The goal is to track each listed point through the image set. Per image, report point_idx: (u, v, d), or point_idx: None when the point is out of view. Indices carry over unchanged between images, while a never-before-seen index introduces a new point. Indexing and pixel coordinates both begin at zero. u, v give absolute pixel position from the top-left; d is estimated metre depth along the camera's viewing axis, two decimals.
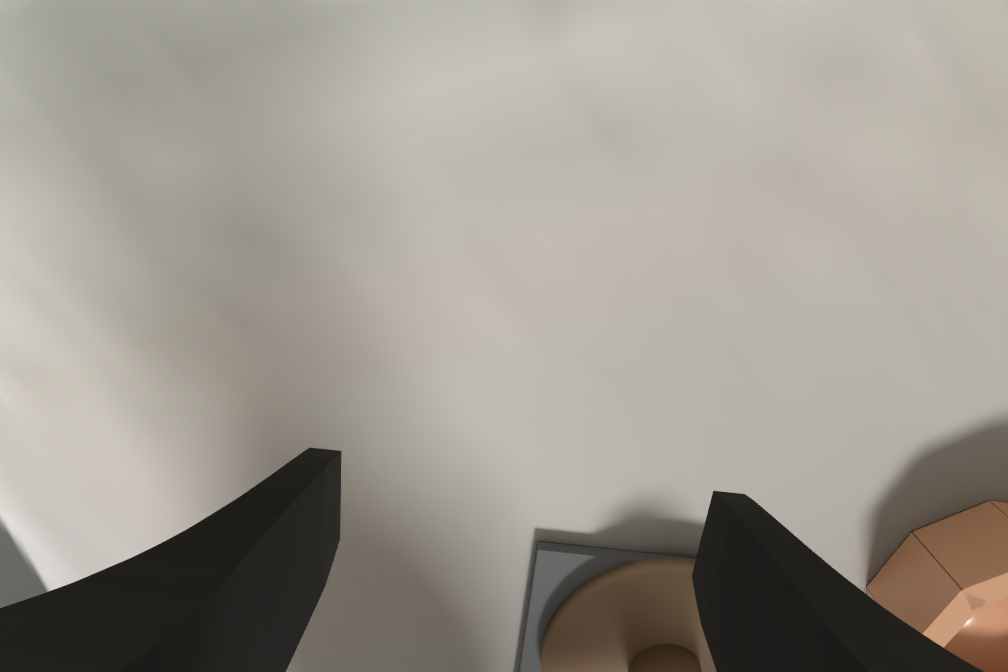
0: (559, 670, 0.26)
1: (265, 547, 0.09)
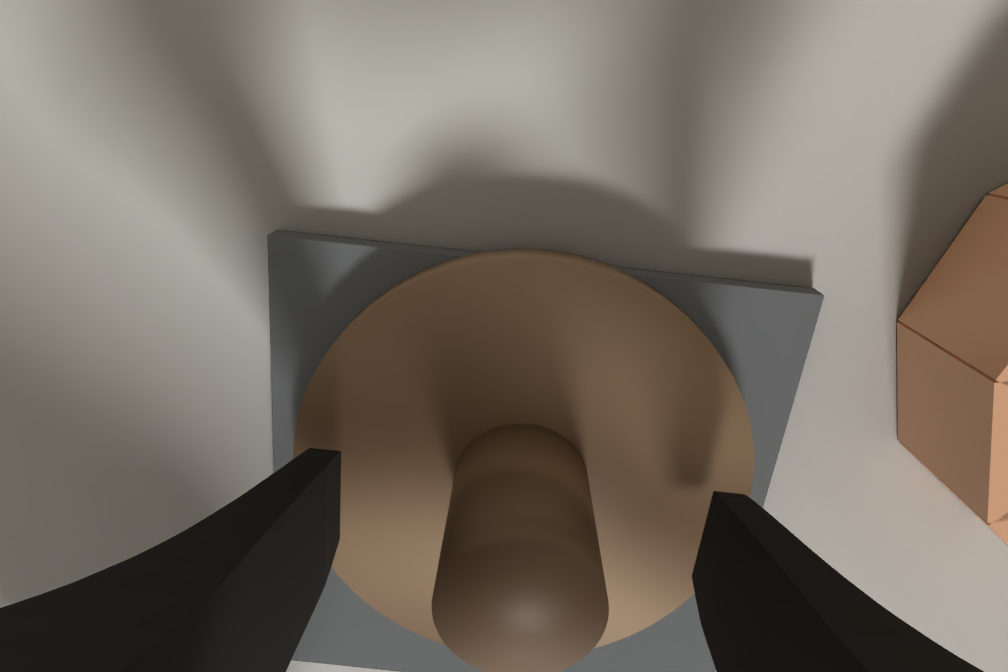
0: None
1: (265, 547, 0.09)
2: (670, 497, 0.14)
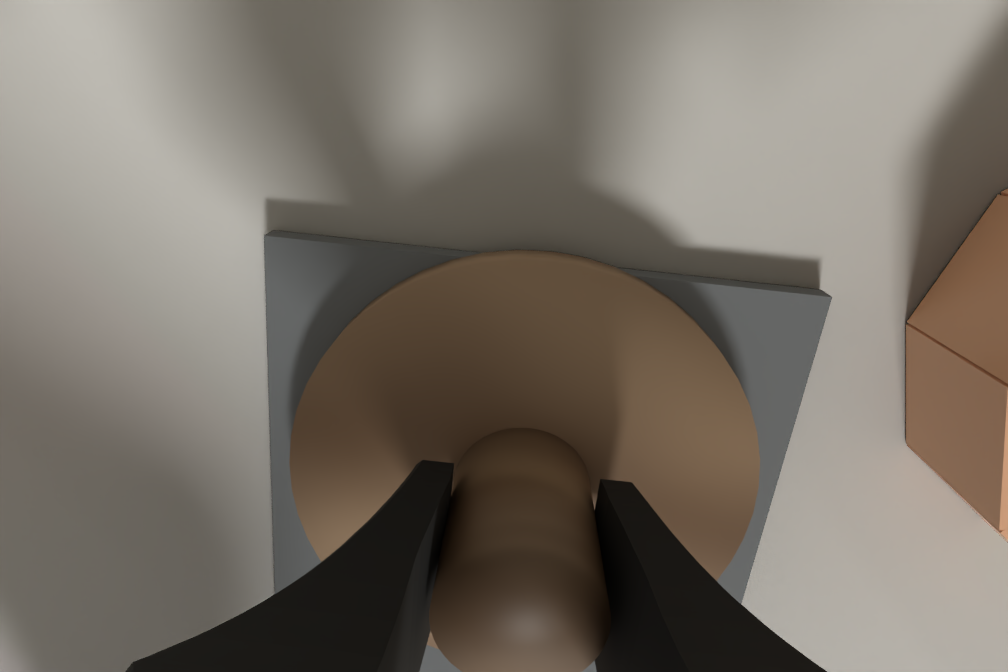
0: (324, 488, 0.14)
1: (417, 563, 0.09)
2: (674, 503, 0.13)
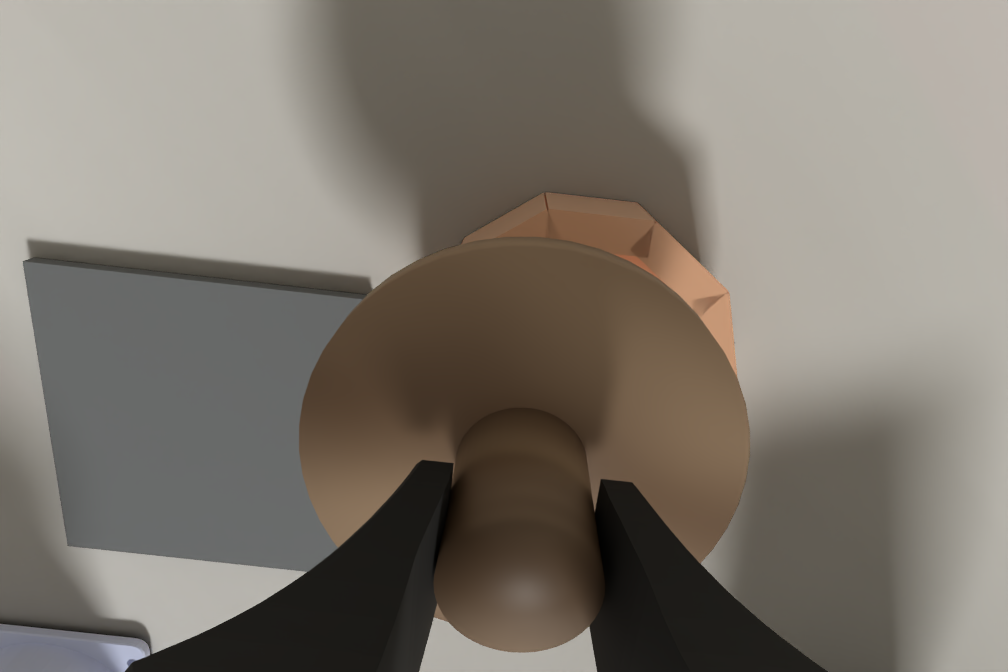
0: (331, 451, 0.14)
1: (417, 563, 0.09)
2: (664, 490, 0.14)
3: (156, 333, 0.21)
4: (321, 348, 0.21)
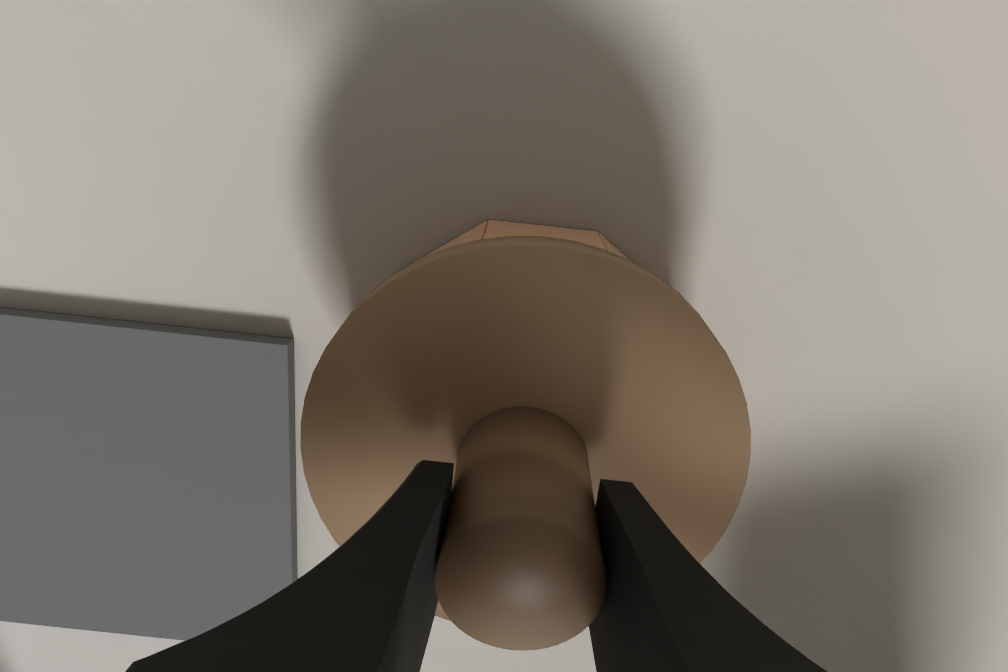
0: (333, 449, 0.14)
1: (417, 563, 0.09)
2: (665, 489, 0.14)
3: (43, 382, 0.18)
4: (234, 400, 0.18)
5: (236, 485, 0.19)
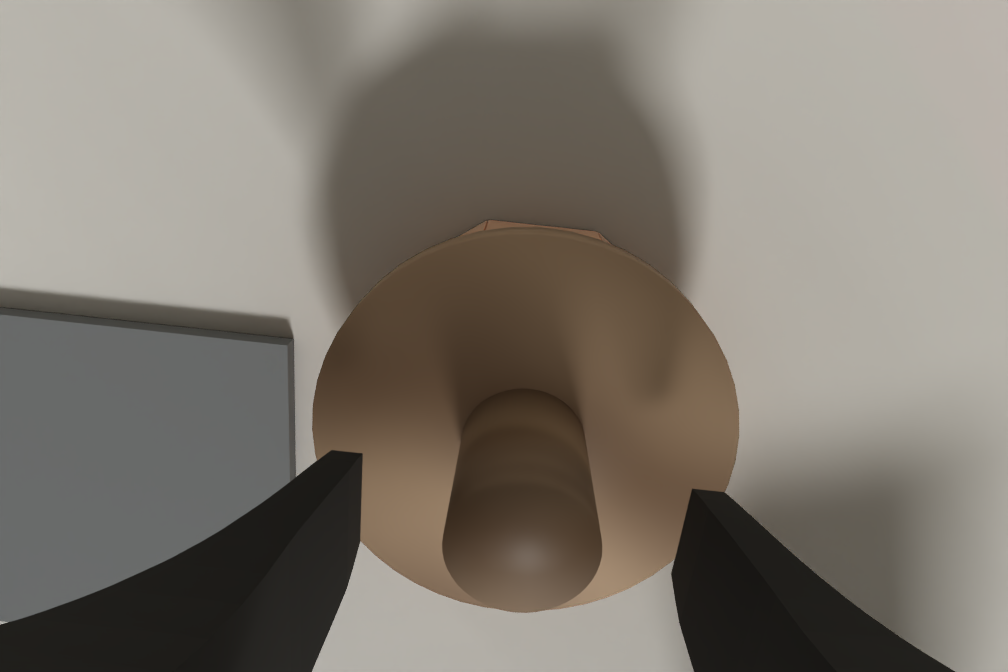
0: (343, 430, 0.15)
1: (294, 550, 0.09)
2: (659, 468, 0.15)
3: (43, 383, 0.18)
4: (234, 400, 0.18)
5: (236, 485, 0.19)
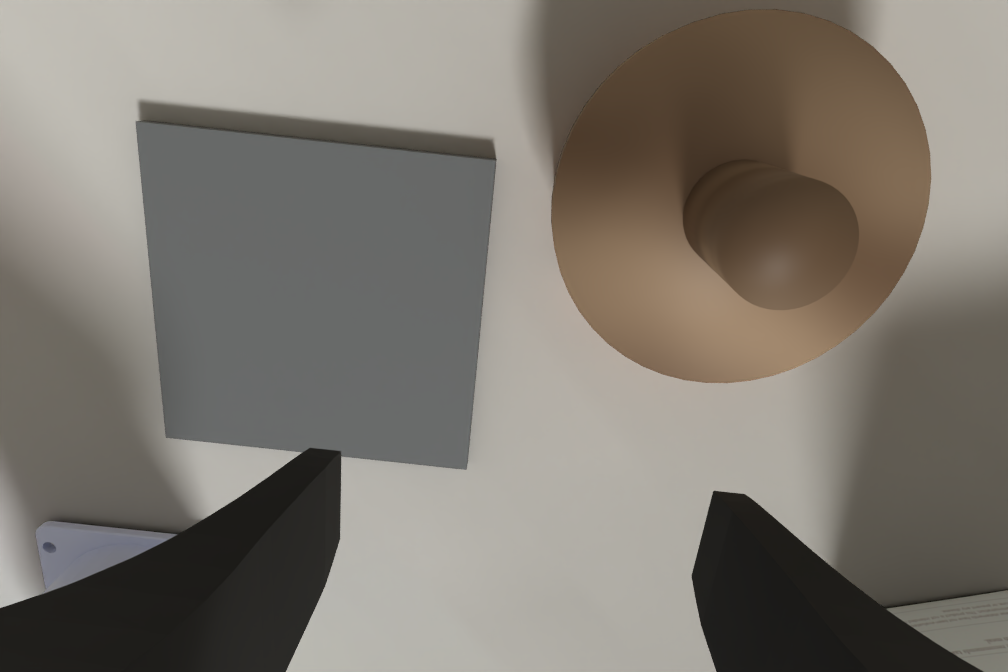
0: (580, 203, 0.17)
1: (265, 547, 0.09)
2: None
3: (270, 200, 0.20)
4: (441, 215, 0.20)
5: (433, 300, 0.21)
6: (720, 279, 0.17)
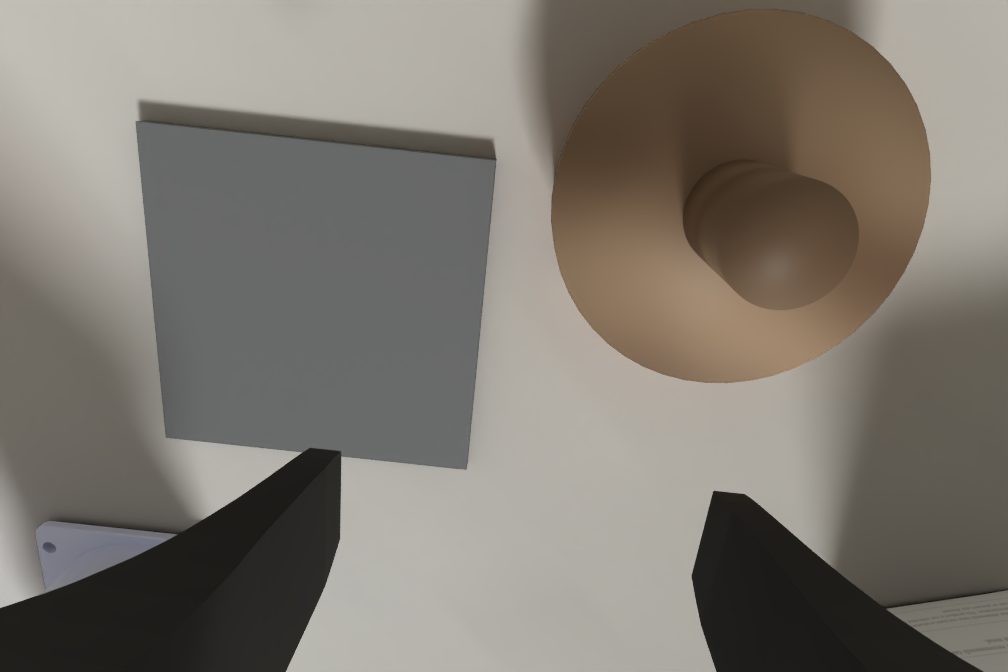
0: (580, 203, 0.17)
1: (265, 547, 0.09)
2: None
3: (270, 200, 0.20)
4: (441, 215, 0.20)
5: (433, 300, 0.21)
6: (720, 279, 0.17)
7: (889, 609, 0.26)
